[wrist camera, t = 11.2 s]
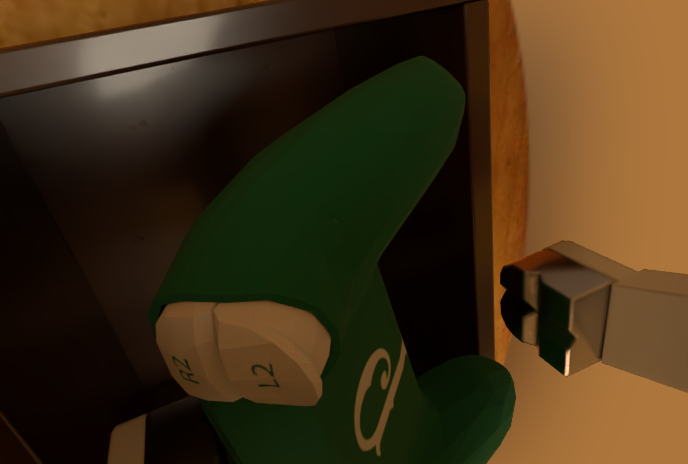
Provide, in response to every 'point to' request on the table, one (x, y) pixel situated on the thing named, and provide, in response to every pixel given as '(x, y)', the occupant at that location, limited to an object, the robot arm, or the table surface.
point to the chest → (204, 193)
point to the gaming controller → (327, 293)
